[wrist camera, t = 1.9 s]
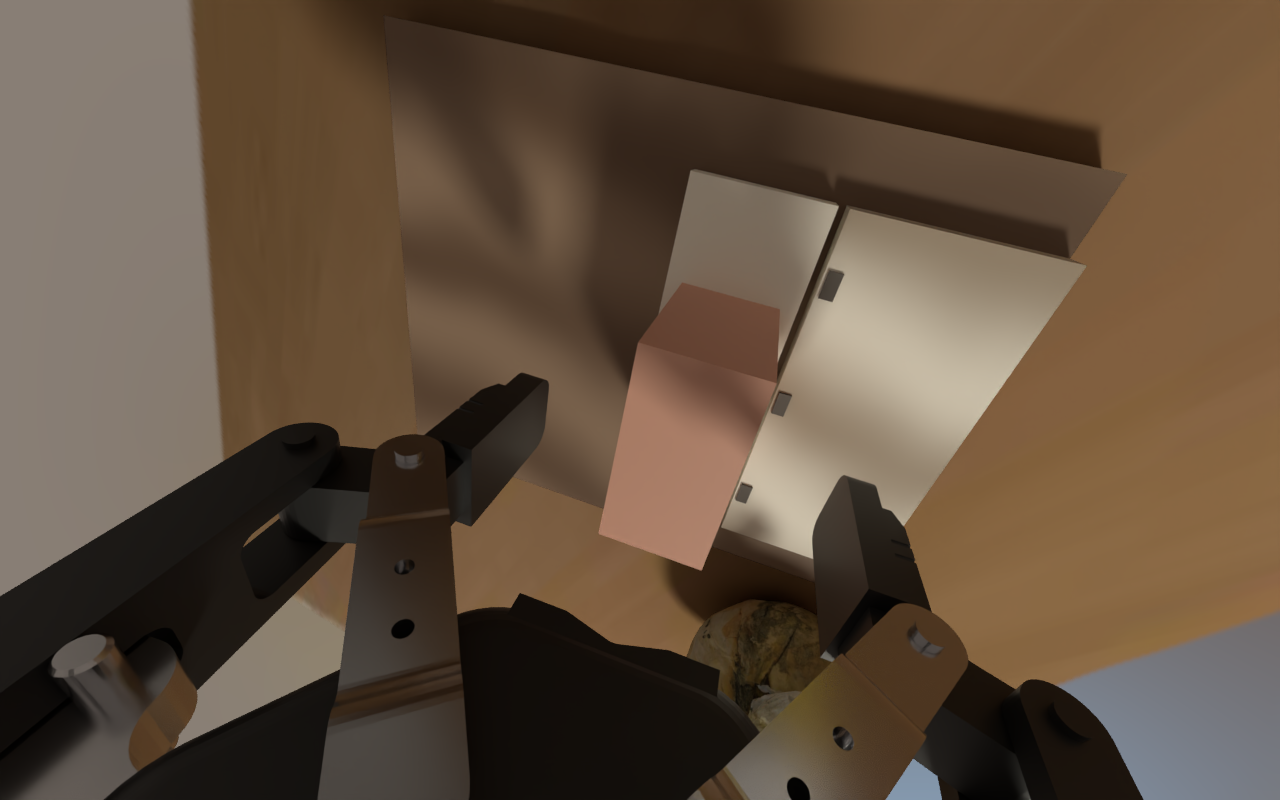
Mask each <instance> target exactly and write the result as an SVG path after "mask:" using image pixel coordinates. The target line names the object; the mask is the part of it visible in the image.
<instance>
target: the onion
mask: <svg viewBox="0 0 1280 800" xmlns="http://www.w3.org/2000/svg"><path fill="white" fill-rule="evenodd" d="M687 658H690V659H692V660H695V661H698V662H700V663H703V664H705V665H708V666H711V667H713V668H716V669H718V670H720V676H719V684H718V689H719V690H720V691H722V692H723V693H725V694H726V695H727V696H728V697H729V698H730V699H732V700H733V701H734V702H735V703H736V704H737V705H738V706H739V707H740V708H741V709H742V710H743V711H744V712H745V713H746V715H747V716H748V717H749V718H750V720H751V721H752V722H753V723H754V725H755V726H756V727H757V729H758V730H759V732H761V731H762V730H763V729H764V728H765V727H766V726H767V725H768V724H769V723H770V722H771V721H772V720H773V719H774V718H775V717H776V716H777V715H778V714H779V713H780V712H781V711H783V710H784V709H785V708H786V707H787V706H788V705H789V704H790V703H791V702H792V701H793V700H794V699H795V698H796V697H797V696H798V695H799V694H800V693H801V692H802V691H803V690H804V689H805V688H806V687H807V686H808V685H809V684H810V683H811V682H812V681H813V680H814V679H815V678H816V677H817V676H818V675H819V674H820V673H821V672H822V671H823V670H824V669H826V668H827V667H828V666H829V665H830V664H831V663H832V662H831V661H828V660H825V659H823V658H820V645H819V631H818V618H817V615H815V614H813V613H811V612H809V611H808V610H806V609H803V608H801V607H799V606H796V605H794V604H790V603H786V602H780V601H763V600H755V599H751V600H746V601H744V602H741V603H738V604H736V605H733V606H731V607H728V608H726V609H724V610H722V611H720V612H717V613H715V614H713V615H712V616H711V617H710V618H708V619H707V620H706V621H705V622H704V623H703V625H702V626H701V627H700V628H699V630H698V632H697V633H696V635H695V637H694V639H693V641H692V643H691V646H690V649H689V652H688V654H687Z"/></svg>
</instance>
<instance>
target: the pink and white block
mask: <svg viewBox="0 0 1280 800" xmlns="http://www.w3.org/2000/svg"><path fill="white" fill-rule="evenodd" d="M838 207H839V206H838V205H837V203H835V202H831V201H826V200H822V199H818V198H814V197H810V196H806V195H801V194H797V193H793V192H789V191H785V190H781V189H776V188H772V187H768V186H764V185H760V184H756V183H751V182H747V181H743V180H739V179H735V178H731V177H726V176H722V175H718V174H714V173H710V172H706V171H701V170H697V169H694V170H691V171H690V175H689V180H688V184H687V189H686V193H685V198H684V202H683V207H682V211H681V215H680V220H679V224H678V229H677V233H676V238H675V242H674V247H673V251H672V256H671V260H670V265H669V269H668V274H667V278H666V282H665V287H664V291H663V296H662V300H661V305H660V309H659V314H658V316H657V317H656V319H655V320H654V321H653V323H652V324H651V325H650V327H649V328H648V329H647V331H646V332H645V334H644V335H643V336H642V338H641V339H640V340H639V342H638V345H637V350H636V355H635V360H634V365H633V369H632V374H631V379H630V384H629V389H628V394H627V398H626V403H625V408H624V413H623V418H622V423H621V428H620V432H619V437H618V442H617V447H616V452H615V457H614V461H613V466H612V471H611V476H610V481H609V486H608V491H607V495H606V500H605V505H604V510H603V515H602V520H601V524H600V529H599V534H601V535H604V536H606V537H609V538H612V539H615V540H617V541H620V542H623V543H626V544H629V545H631V546H634V547H637V548H640V549H643V550H645V551H648V552H651V553H654V554H656V555H659V556H662V557H665V558H668V559H670V560H673V561H676V562H679V563H682V564H684V565H687V566H690V567H693V568H695V569H698V570H701V571H702V568H703V566H704V563H705V561H706V558H707V556H708V553H709V551H710V548H711V546H712V543H713V541H714V538H715V536H716V533H717V531H718V528H719V526H720V523H721V521H722V518H723V516H724V513H725V511H726V509H727V506H728V504H729V501H730V499H731V496H732V494H733V491H734V489H735V486H736V484H737V481H738V479H739V476H740V474H741V471H742V469H743V466H744V464H745V461H746V459H747V456H748V454H749V451H750V449H751V446H752V444H753V441H754V439H755V436H756V434H757V431H758V429H759V426H760V424H761V421H762V419H763V416H764V414H765V412H766V409H767V407H768V404H769V402H770V399H771V397H772V394H773V392H774V389H775V387H776V384H777V367H778V360H779V358H780V355H781V353H782V350H783V348H784V345H785V342H786V340H787V337H788V335H789V332H790V330H791V327H792V325H793V322H794V320H795V317H796V314H797V312H798V309H799V307H800V304H801V302H802V299H803V297H804V294H805V292H806V289H807V286H808V284H809V281H810V279H811V276H812V274H813V271H814V269H815V266H816V263H817V261H818V258H819V256H820V253H821V251H822V248H823V246H824V243H825V241H826V238H827V235H828V233H829V230H830V228H831V225H832V223H833V220H834V218H835V215H836V212H837V210H838Z"/></svg>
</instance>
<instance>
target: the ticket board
mask: <svg viewBox="0 0 1280 800" xmlns="http://www.w3.org/2000/svg"><path fill="white" fill-rule="evenodd" d="M383 16H384V28H385V40H386V53H387V65H388V77H389V90H390V102H391V114H392V127H393V139H394V151H395V163H396V176H397V188H398V200H399V213H400V225H401V237H402V250H403V262H404V274H405V286H406V299H407V311H408V323H409V336H410V348H411V360H412V373H413V385H414V397H415V410H416V422H417V434H418V435H425V434H426V433H427V432H428V431H430V430H431V429H432V428H433V427H435V426H436V425H437V424H438V423H440V422H441V421H442V420H443V419H445V418H446V417H447V416H449V415H450V414H451V413H452V412H454V411H455V410H456V409H459V407H460V406H461V405H462V404H464V403H465V402H466V401H469V399H470V398H471V397H472V396H474V395H475V394H476V393H477V392H479V391H480V390H481V389H484V388H487V387H490V386H493V385H495V384H498V383H499V384H502V385H506V384H507V383H509V382H510V381H511V380H512V379H513V378H514V377H516V376H517V375H518V374H519V373H526V374H529V375H532V376H535V377H539V378H542V379H545V380H547V381H548V383H549V393H548V403H547V412H546V422H545V429H544V433H543V436H542V439H541V441H540V443H539V445H538V446H537V448H536V449H535V450H534V451H533V453H532V454H531V455H530V456H529V457H528V459H527V460H526V461H525V462H524V464H523V465H522V466H521V467H520V468H519V470H518V471H517V472H516V473H515V474H514V476H513V477H515V478H518V479H520V480H523V481H526V482H529V483H532V484H535V485H538V486H540V487H543V488H546V489H549V490H552V491H555V492H558V493H560V494H563V495H566V496H569V497H572V498H575V499H577V500H580V501H583V502H586V503H589V504H592V505H595V506H597V507H600V508H603V509H604V505H605V500H606V495H607V491H608V486H609V481H610V476H611V471H612V466H613V461H614V457H615V452H616V447H617V442H618V437H619V432H620V428H621V423H622V418H623V413H624V408H625V403H626V398H627V394H628V389H629V384H630V379H631V374H632V369H633V365H634V360H635V355H636V350H637V345H638V342H639V340H640V339H641V338H642V336H643V335H644V334H645V332H646V331H647V329H648V328H649V327H650V325H651V324H652V323H653V321H654V320H655V319H656V317H657V316H658V314H659V309H660V305H661V300H662V296H663V291H664V287H665V282H666V278H667V274H668V269H669V265H670V260H671V256H672V251H673V247H674V242H675V238H676V233H677V229H678V224H679V220H680V215H681V211H682V207H683V202H684V198H685V193H686V189H687V184H688V180H689V175H690V171H691V170H694V169H697V170H701V171H706V172H710V173H714V174H718V175H722V176H726V177H731V178H735V179H739V180H743V181H747V182H751V183H756V184H760V185H764V186H768V187H772V188H776V189H781V190H785V191H789V192H793V193H797V194H801V195H806V196H810V197H814V198H818V199H822V200H826V201H831V202H835V203H837V205H838V206H839V207H838V210H837V212H836V215H835V218H834V220H833V223H832V225H831V228H830V230H829V233H828V235H827V238H826V241H825V243H824V246H823V248H822V251H821V253H820V256H819V258H818V261H817V263H816V266H815V269H814V271H813V274H812V276H811V279H810V281H809V284H808V286H807V289H806V292H805V294H804V297H803V299H802V302H801V304H800V307H799V309H798V312H797V314H796V317H795V320H794V322H793V325H792V327H791V330H790V332H789V335H788V337H787V340H786V342H785V345H784V348H783V350H782V353H781V355H780V358H779V360H778V367H777V384H776V387H775V389H774V392H773V394H772V397H771V399H770V402H769V404H768V407H767V409H766V412H765V414H764V416H763V419H762V421H761V424H760V426H759V429H758V431H757V434H756V436H755V439H754V441H753V444H752V446H751V449H750V451H749V454H748V456H747V459H746V461H745V464H744V466H743V469H742V471H741V474H740V476H739V479H738V481H737V484H736V486H735V489H734V491H733V494H732V496H731V499H730V501H729V504H728V506H727V509H726V511H725V513H724V516H723V518H722V521H721V523H720V526H719V528H718V531H717V533H716V536H715V538H714V541H713V543H712V546H711V547H714V548H717V549H720V550H723V551H726V552H728V553H731V554H734V555H737V556H740V557H743V558H746V559H748V560H751V561H754V562H757V563H760V564H763V565H766V566H768V567H771V568H774V569H777V570H780V571H783V572H785V573H788V574H791V575H794V576H797V577H800V578H803V579H805V580H808V581H811V582H814V583H815V576H814V562H813V548H812V535H813V530H814V526H815V523H816V520H817V518H818V516H819V514H820V512H821V511H822V509H823V507H824V505H825V503H826V501H827V500H828V498H829V496H830V494H831V492H832V490H833V489H834V487H835V485H836V483H837V481H838V480H839V478H840V477H841V476H843V475H846V476H849V477H852V478H856V479H859V480H862V481H865V482H868V483H871V484H874V485H875V486H876V488H877V491H878V494H879V498H880V502H881V505H882V508H884V509H887V510H890V511H892V512H893V513H894V515H895V516H896V517H897V519H898V520H899V521H900V523H901V524H902V525H903V526H904V525H905V523H906V522H907V520H908V519H909V518H910V516H911V515H912V513H913V512H914V510H915V509H916V508H917V506H918V505H919V503H920V502H921V501H922V499H923V498H924V496H925V495H926V493H927V492H928V491H929V489H930V488H931V486H932V485H933V484H934V482H935V481H936V479H937V478H938V476H939V475H940V474H941V472H942V471H943V469H944V468H945V466H946V465H947V464H948V462H949V461H950V459H951V458H952V457H953V455H954V454H955V452H956V451H957V449H958V448H959V447H960V445H961V444H962V442H963V441H964V439H965V438H966V437H967V435H968V434H969V432H970V431H971V430H972V428H973V427H974V425H975V424H976V422H977V421H978V420H979V418H980V417H981V415H982V414H983V413H984V411H985V410H986V408H987V407H988V405H989V404H990V403H991V401H992V400H993V398H994V397H995V395H996V394H997V393H998V391H999V390H1000V388H1001V387H1002V386H1003V384H1004V383H1005V381H1006V380H1007V378H1008V377H1009V376H1010V374H1011V373H1012V371H1013V370H1014V368H1015V367H1016V366H1017V364H1018V363H1019V361H1020V360H1021V359H1022V357H1023V356H1024V354H1025V353H1026V351H1027V350H1028V349H1029V347H1030V346H1031V344H1032V343H1033V342H1034V340H1035V339H1036V337H1037V336H1038V334H1039V333H1040V332H1041V330H1042V329H1043V327H1044V326H1045V324H1046V323H1047V322H1048V320H1049V319H1050V317H1051V316H1052V315H1053V313H1054V312H1055V310H1056V309H1057V307H1058V306H1059V305H1060V303H1061V302H1062V300H1063V299H1064V297H1065V296H1066V295H1067V293H1068V292H1069V290H1070V289H1071V288H1072V286H1073V285H1074V283H1075V282H1076V280H1077V279H1078V278H1079V276H1080V275H1081V273H1082V272H1083V271H1084V269H1085V268H1086V265H1084V264H1081V263H1079V262H1077V261H1074V260H1072V259H1070V258H1071V256H1072V255H1073V253H1074V252H1075V250H1076V249H1077V248H1078V246H1079V245H1080V243H1081V242H1082V240H1083V239H1084V237H1085V236H1086V234H1087V233H1088V231H1089V230H1090V228H1091V227H1092V225H1093V224H1094V222H1095V221H1096V220H1097V218H1098V217H1099V215H1100V214H1101V212H1102V211H1103V209H1104V208H1105V206H1106V205H1107V203H1108V202H1109V200H1110V199H1111V197H1112V196H1113V195H1114V193H1115V192H1116V190H1117V189H1118V187H1119V186H1120V184H1121V183H1122V181H1123V180H1124V178H1125V177H1126V175H1127V174H1124V173H1119V172H1115V171H1110V170H1105V169H1101V168H1096V167H1091V166H1087V165H1082V164H1077V163H1073V162H1068V161H1063V160H1059V159H1054V158H1049V157H1045V156H1040V155H1035V154H1031V153H1026V152H1021V151H1017V150H1012V149H1007V148H1003V147H998V146H993V145H988V144H984V143H979V142H974V141H970V140H965V139H960V138H956V137H951V136H946V135H942V134H937V133H932V132H928V131H923V130H918V129H914V128H909V127H904V126H900V125H895V124H890V123H886V122H881V121H876V120H871V119H867V118H862V117H857V116H853V115H848V114H843V113H839V112H834V111H829V110H825V109H820V108H815V107H811V106H806V105H801V104H797V103H792V102H787V101H783V100H778V99H773V98H769V97H764V96H759V95H755V94H750V93H745V92H740V91H736V90H731V89H726V88H722V87H717V86H712V85H708V84H703V83H698V82H694V81H689V80H684V79H680V78H675V77H670V76H666V75H661V74H656V73H652V72H647V71H642V70H638V69H633V68H628V67H624V66H619V65H614V64H609V63H605V62H600V61H595V60H591V59H586V58H581V57H577V56H572V55H567V54H563V53H558V52H553V51H549V50H544V49H539V48H535V47H530V46H525V45H521V44H516V43H511V42H507V41H502V40H497V39H492V38H488V37H483V36H478V35H474V34H469V33H464V32H460V31H455V30H450V29H446V28H441V27H436V26H432V25H427V24H422V23H418V22H413V21H408V20H404V19H399V18H394V17H390V16H385V15H383Z"/></svg>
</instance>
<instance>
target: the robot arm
mask: <svg viewBox="0 0 1280 800" xmlns="http://www.w3.org/2000/svg"><path fill="white" fill-rule="evenodd" d="M548 393H549V383H548V381H547V380H545V379H542V378H539V377H535V376H532V375H529V374H526V373H519V374H518V375H517V376H516V377H514V378H513V379H512V380H511V381H510V382H509V383H507V384H506V385H502V384H499V383H498V384H495V385H493V386H490V387H487V388H484V389H481V390H480V391H479V392H477V393H476V394H475V395H474V396H472V397H471V398H470V399H469V401H466V402H465V403H464V404H462V405H461V406H460V407H459V409H456V410H455V411H454V412H452V413H451V414H450V415H449V416H447V417H446V418H445V419H443V420H442V421H441V422H440V423H438V424H437V425H436V426H435V427H433V428H432V429H431V430H430V431H428V432H427V433H426V434H425V435H417V434H410V435H403V436H398V437H395V438H392V439H390V440H387V441H386V442H384V443H382V444H381V445H380V446H379V447H378V448H377V449H368V448H357V447H347V446H340V442H339V436H338V433H337V431H336V430H335V429H334V428H332V427H330V426H328V425H325V424H320V423H298V424H293V425H288V426H285V427H282V428H279V429H277V430H275V431H273V432H271V433H269V434H267V435H266V436H264V437H262V438H261V439H259V440H258V441H256V442H254V443H253V444H251V445H249V446H248V447H246V448H244V449H243V450H241V451H239V452H238V453H236V454H234V455H233V456H231V457H229V458H228V459H226V460H225V461H223V462H221V463H220V464H218V465H216V466H215V467H213V468H211V469H210V470H208V471H206V472H205V473H203V474H202V475H200V476H198V477H197V478H195V479H193V480H192V481H190V482H188V483H187V484H185V485H183V486H182V487H180V488H178V489H177V490H175V491H173V492H172V493H170V494H168V495H167V496H165V497H164V498H162V499H160V500H158V501H157V502H155V503H154V504H152V505H150V506H149V507H147V508H145V509H144V510H142V511H140V512H139V513H137V514H135V515H134V516H132V517H130V518H129V519H127V520H125V521H124V522H122V523H121V524H119V525H117V526H116V527H114V528H112V529H111V530H109V531H107V532H106V533H104V534H102V535H101V536H99V537H97V538H96V539H94V540H92V541H91V542H89V543H88V544H86V545H84V546H83V547H81V548H79V549H78V550H76V551H74V552H73V553H71V554H70V555H68V556H66V557H64V558H63V559H61V560H59V561H58V562H56V563H54V564H53V565H51V566H50V567H48V568H46V569H45V570H43V571H41V572H40V573H38V574H36V575H35V576H33V577H31V578H30V579H28V580H27V581H25V582H23V583H22V584H20V585H18V586H17V587H15V588H13V589H12V590H10V591H8V592H7V593H5V594H3V595H2V596H0V800H885V799H886V798H887V797H888V795H889V794H890V792H891V791H892V789H893V787H894V786H895V785H896V783H897V782H898V780H899V779H900V777H901V776H902V774H903V772H904V771H905V770H906V768H907V766H908V765H909V764H910V762H911V761H912V759H915V760H916V761H917V762H919V763H920V764H922V765H923V766H924V767H926V768H927V769H928V770H930V771H931V772H933V773H934V774H935V775H937V776H938V781H939V786H940V791H941V796H942V800H1143V798H1142V796H1141V794H1140V792H1139V790H1138V788H1137V786H1136V784H1135V782H1134V780H1133V778H1132V776H1131V775H1130V772H1129V770H1128V769H1127V766H1126V764H1125V763H1124V761H1123V759H1122V757H1121V755H1120V753H1119V751H1118V749H1117V747H1116V745H1115V743H1114V741H1113V739H1112V738H1111V736H1110V735H1109V733H1108V731H1107V730H1106V728H1105V727H1104V726H1103V724H1102V723H1101V722H1100V721H1099V720H1098V718H1097V717H1096V716H1095V715H1094V714H1093V713H1092V712H1091V711H1090V710H1089V709H1088V708H1087V707H1086V706H1084V705H1083V704H1082V703H1081V702H1080V701H1078V700H1077V699H1076V698H1075V697H1073V696H1072V695H1070V694H1069V693H1067V692H1066V691H1064V690H1063V689H1061V688H1059V687H1057V686H1055V685H1053V684H1051V683H1048V682H1045V681H1042V680H1036V679H1035V680H1027V681H1025V682H1024V683H1023V684H1022V685H1020V686H1019V687H1018V688H1017V689H1014V688H1012V687H1011V686H1009V685H1007V684H1006V683H1004V682H1002V681H1001V680H999V679H998V678H996V677H994V676H993V675H991V674H989V673H988V672H986V671H984V670H983V669H981V668H980V667H978V666H976V665H975V664H973V663H972V662H970V661H969V660H968V655H967V652H966V649H965V647H964V645H963V643H962V641H961V640H960V638H959V637H958V635H957V634H956V633H955V632H954V630H953V629H952V628H951V627H950V626H949V625H948V624H947V623H946V622H944V621H943V620H942V619H941V618H939V617H938V616H937V615H935V614H934V613H932V611H931V608H930V605H929V602H928V599H927V596H926V593H925V589H924V586H923V583H922V580H921V577H920V574H919V571H918V568H917V564H916V563H914V561H915V558H914V555H913V552H912V549H910V543H909V539H908V536H907V533H906V530H905V528H904V527H903V525H902V524H901V523H900V521H899V520H898V519H897V517H896V516H895V515H894V513H893V512H892V511H890V510H887V509H884V508H882V505H881V502H880V498H879V494H878V491H877V488H876V486H875V485H874V484H871V483H868V482H865V481H862V480H859V479H856V478H852V477H849V476H846V475H843V476H841V477H840V478H839V480H838V481H837V483H836V485H835V487H834V489H833V490H832V492H831V494H830V496H829V498H828V500H827V501H826V503H825V505H824V507H823V509H822V511H821V512H820V514H819V516H818V518H817V520H816V523H815V526H814V530H813V535H812V548H813V562H814V576H815V590H816V604H817V618H818V631H819V645H820V658H823V659H825V660H828V661H831V662H832V663H831V664H830V665H829V666H828V667H827V668H826V669H824V670H823V671H822V672H821V673H820V674H819V675H818V676H817V677H816V678H815V679H814V680H813V681H812V682H811V683H810V684H809V685H808V686H807V687H806V688H805V689H804V690H803V691H802V692H801V693H800V694H799V695H798V696H797V697H796V698H795V699H794V700H793V701H792V702H791V703H790V704H789V705H788V706H787V707H786V708H785V709H784V710H783V711H781V712H780V713H779V714H778V715H777V716H776V717H775V718H774V719H773V720H772V721H771V722H770V723H769V724H768V725H767V726H766V727H765V728H764V729H763V730H762V731H761V732H759V730H758V729H757V727H756V726H755V725H754V723H753V722H752V721H751V720H750V718H749V717H748V716H747V715H746V713H745V712H744V711H743V710H742V709H741V708H740V707H739V706H738V705H737V704H736V703H735V702H734V701H733V700H732V699H730V698H729V697H728V696H727V695H726V694H725V693H723V692H722V691H720V690H719V689H718V684H719V676H720V670H718V669H716V668H713V667H711V666H708V665H705V664H703V663H700V662H698V661H695V660H692V659H690V658H687V657H685V656H682V655H679V654H677V653H674V652H672V651H669V650H662V649H653V648H645V647H637V646H629V645H620V644H615V643H612V642H610V641H608V640H607V639H605V638H604V637H603V636H601V635H600V634H598V633H597V632H596V631H594V630H593V629H591V628H590V627H588V626H587V625H586V624H584V623H583V622H581V621H580V620H579V619H577V618H576V617H574V616H573V615H572V614H570V613H569V612H567V611H565V610H563V609H560V608H558V607H555V606H552V605H550V604H547V603H545V602H542V601H539V600H537V599H534V598H532V597H529V596H526V595H524V594H521V593H520V594H519V595H518V597H517V599H516V600H515V602H514V604H513V605H512V607H511V608H506V607H490V608H482V609H476V610H471V611H467V612H463V613H461V614H458V615H457V606H456V593H455V579H454V565H453V551H452V538H451V525H452V524H453V523H454V522H455V521H457V522H460V523H463V524H465V525H468V526H472V525H473V524H474V523H475V522H476V520H477V519H478V518H479V517H480V516H481V514H482V513H483V512H484V511H485V509H486V508H487V507H488V506H489V505H490V503H491V502H492V501H493V500H494V499H495V497H496V496H497V495H498V494H499V493H500V491H501V490H502V489H503V488H504V486H505V485H506V484H507V483H508V482H509V480H510V479H511V478H512V477H513V476H514V474H515V473H516V472H517V471H518V470H519V468H520V467H521V466H522V465H523V464H524V462H525V461H526V460H527V459H528V457H529V456H530V455H531V454H532V453H533V451H534V450H535V449H536V448H537V446H538V445H539V443H540V441H541V439H542V436H543V433H544V429H545V422H546V412H547V403H548ZM277 514H279V517H280V519H278V520H277V521H276V522H275V523H273V524H272V525H271V526H270V527H268V528H267V529H266V530H265V531H263V532H262V533H261V534H260V535H258V536H257V537H256V538H255V539H253V540H252V541H251V542H250V543H248V544H247V545H246V546H245V547H243V546H244V544H245V542H246V541H247V539H248V538H249V537H250V536H251V535H252V534H253V533H254V532H255V531H256V530H258V529H259V528H260V527H261V526H263V525H264V524H265V523H267V522H268V521H269V520H270V519H272V518H273V517H274V516H275V515H277ZM345 543H355V544H356V550H355V558H354V565H353V573H352V581H351V589H350V597H349V605H348V612H347V620H346V628H345V636H344V644H343V652H342V660H341V667H340V670H338V671H335V672H334V673H331V674H329V675H327V676H325V677H323V678H321V679H319V680H317V681H314V682H312V683H310V684H308V685H306V686H304V687H302V688H300V689H298V690H296V691H294V692H291V693H289V694H288V695H285V696H283V697H281V698H279V699H276V700H274V701H272V702H270V703H268V704H266V705H264V706H262V707H260V708H258V709H255V710H253V711H251V712H249V713H247V714H245V715H243V716H241V717H239V718H236V719H234V720H232V721H230V722H228V723H226V724H224V725H222V726H220V727H218V728H216V729H213V730H211V731H209V732H207V733H205V734H203V735H201V736H199V737H196V738H194V739H192V740H190V741H188V742H186V743H184V744H182V745H181V746H179V747H177V748H175V746H176V744H177V742H178V738H179V734H180V733H181V732H182V730H183V729H184V728H185V727H186V725H187V724H188V722H189V721H190V719H191V717H192V715H193V713H194V711H195V708H196V704H197V690H198V689H199V688H200V687H201V686H202V685H203V684H204V683H205V682H206V681H207V680H208V679H209V678H210V677H211V676H212V675H213V674H214V673H215V672H216V671H217V670H218V669H219V668H220V667H221V666H222V665H223V664H224V663H225V662H226V661H227V660H228V659H229V658H230V657H231V656H232V655H233V654H234V653H235V652H236V651H237V650H238V649H239V648H240V647H241V646H242V645H243V644H244V643H245V642H246V641H247V640H248V639H249V638H250V637H251V636H252V635H253V634H254V633H255V632H256V631H258V629H260V627H262V626H263V625H264V624H265V623H266V622H267V621H268V620H269V619H270V618H271V616H273V614H275V612H276V611H278V610H279V609H280V608H281V607H282V606H283V605H284V604H285V603H286V602H287V601H288V600H289V599H290V598H291V597H292V596H293V595H294V594H295V593H296V592H297V591H298V590H299V589H300V588H301V587H302V586H303V585H304V584H305V583H306V582H307V581H308V580H309V579H310V578H311V577H312V576H313V575H314V574H315V573H316V572H317V571H318V570H319V569H320V568H321V567H322V566H323V565H324V564H325V563H326V562H327V561H328V560H329V559H330V558H331V557H332V556H333V555H334V554H335V553H336V552H337V551H338V550H339V549H340V548H341V547H342V546H343V545H344V544H345ZM174 748H175V749H174Z"/></svg>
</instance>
